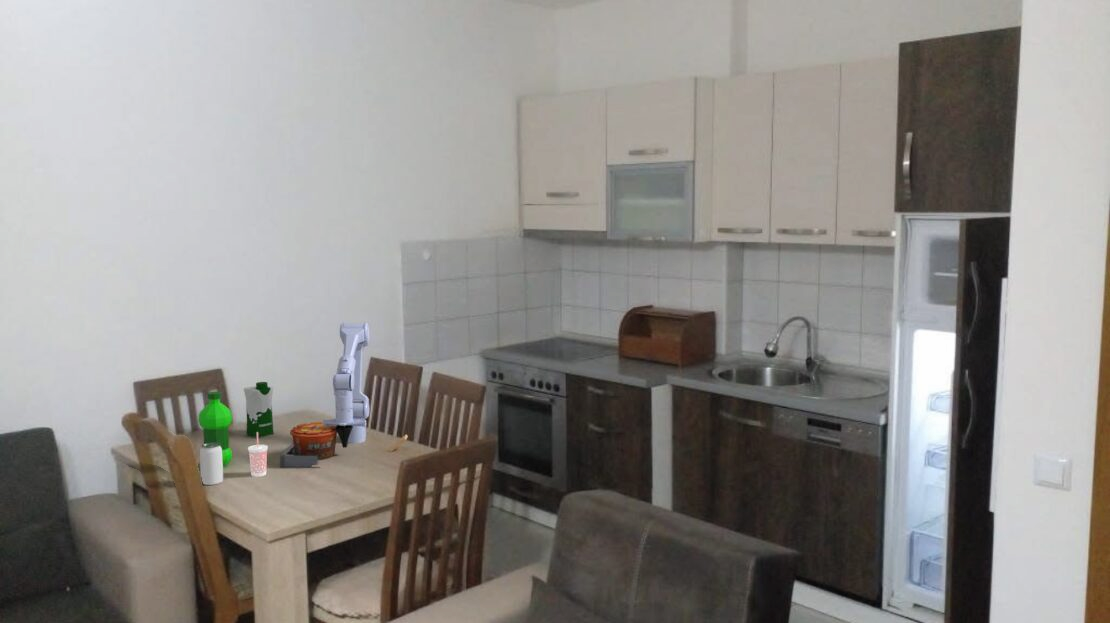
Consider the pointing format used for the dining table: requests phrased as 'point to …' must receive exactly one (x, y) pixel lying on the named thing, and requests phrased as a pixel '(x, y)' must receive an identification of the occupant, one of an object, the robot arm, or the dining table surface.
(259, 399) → the milk carton
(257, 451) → the beverage cup
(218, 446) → the can
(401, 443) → the latch flap
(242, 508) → the dining table surface
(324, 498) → the dining table surface
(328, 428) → the food container
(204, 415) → the plastic bottle
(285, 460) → the tray
